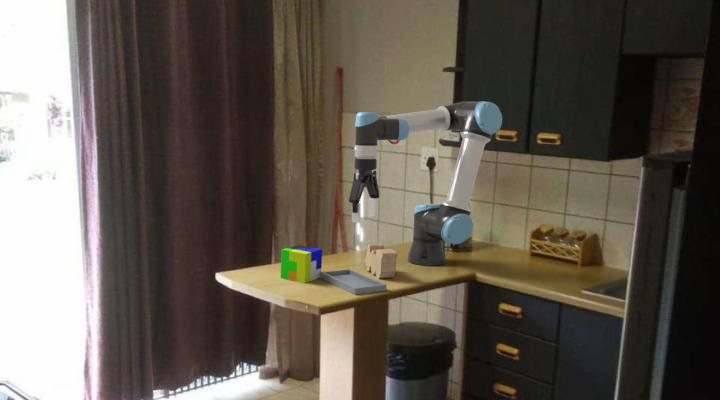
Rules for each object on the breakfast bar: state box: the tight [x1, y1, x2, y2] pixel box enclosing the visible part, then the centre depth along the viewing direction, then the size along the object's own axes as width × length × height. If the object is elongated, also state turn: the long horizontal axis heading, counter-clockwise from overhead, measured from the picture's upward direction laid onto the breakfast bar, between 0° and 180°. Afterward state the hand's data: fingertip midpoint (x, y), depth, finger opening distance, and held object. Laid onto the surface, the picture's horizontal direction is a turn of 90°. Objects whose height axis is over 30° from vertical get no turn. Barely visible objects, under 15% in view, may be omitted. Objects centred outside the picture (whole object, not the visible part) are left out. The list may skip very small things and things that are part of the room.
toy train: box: [364, 243, 399, 279], centre depth 227 cm, size 6×17×10 cm, turn 20°
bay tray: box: [319, 268, 387, 295], centre depth 213 cm, size 23×12×2 cm, turn 32°
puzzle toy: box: [280, 244, 323, 284], centre depth 218 cm, size 10×10×10 cm
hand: (364, 219), depth 219 cm, fingers open, 13 cm apart
